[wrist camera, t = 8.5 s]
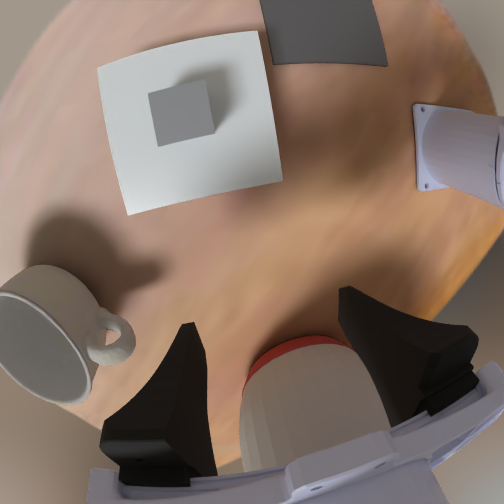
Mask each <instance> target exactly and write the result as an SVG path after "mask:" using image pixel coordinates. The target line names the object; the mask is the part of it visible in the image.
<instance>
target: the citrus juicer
mask: <svg viewBox="0 0 504 504" xmlns="http://www.w3.org/2000/svg"><path fill="white" fill-rule="evenodd" d="M390 428H391V426H390V423H389V420H388V417H387V414H386V412H385V409H384V406H383V404H382V401H381V399H380V396H379V394H378V391H377V389H376V387H375V385H374V383H373V380H372V378H371V376H370V374H369V372H368V370H367V369H366V367H365V365H364V364H363V362H362V361H361V359H360V357H359V356H358V354H357V353H356V351H355V350H354V349H352V348H350V347H349V346H347V345H345V344H343V343H341V342H340V341H338V340H336V339H334V338H331V337H327V336H316V335H315V336H304V337H300V338H296V339H292V340H289V341H287V342H284V343H282V344H280V345H278V346H276V347H274V348H272V349H270V350H269V351H268V352H266V353H265V354H263V355H262V356H261V357H260V358H259V359H258V360H257V361H256V362H255V363H254V365H253V366H252V368H251V369H250V372H249V374H248V377H247V379H246V382H245V385H244V388H243V392H242V402H241V407H240V421H239V438H240V449H241V455H242V461H243V467H244V472H250V471H256V470H261V469H267V468H272V467H276V466H281V465H285V464H289V463H290V462H292V461H294V460H295V459H297V458H299V457H302V456H305V455H307V454H310V453H313V452H317V451H320V450H323V449H327V448H330V447H333V446H336V445H339V444H342V443H344V442H347V441H350V440H353V439H355V438H358V437H361V436H363V435H366V434H368V433H371V432H374V431H378V430H388V429H390Z"/></svg>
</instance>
